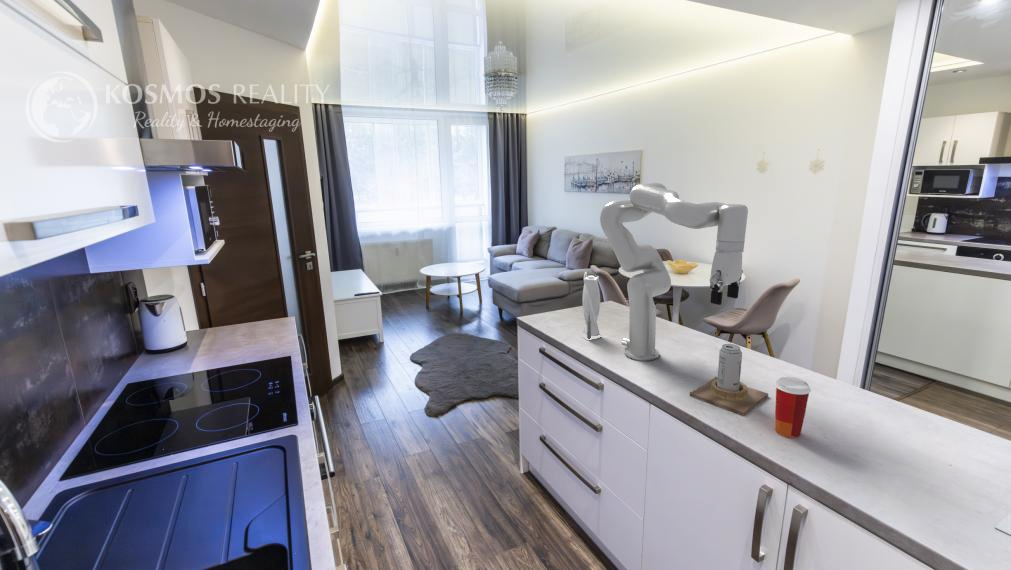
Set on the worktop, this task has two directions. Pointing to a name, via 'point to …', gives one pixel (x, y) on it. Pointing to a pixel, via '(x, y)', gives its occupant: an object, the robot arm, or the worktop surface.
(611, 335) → the worktop surface
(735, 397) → the ring stand
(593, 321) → the skyscraper
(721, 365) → the energy drink can
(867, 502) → the worktop surface
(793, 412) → the paper cup
